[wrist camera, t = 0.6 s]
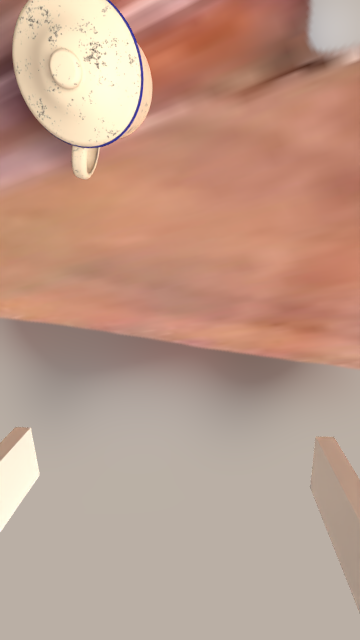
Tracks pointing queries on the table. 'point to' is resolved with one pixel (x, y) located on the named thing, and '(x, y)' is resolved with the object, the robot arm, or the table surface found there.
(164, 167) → the table surface
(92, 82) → the teacup with lid
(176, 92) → the table surface
